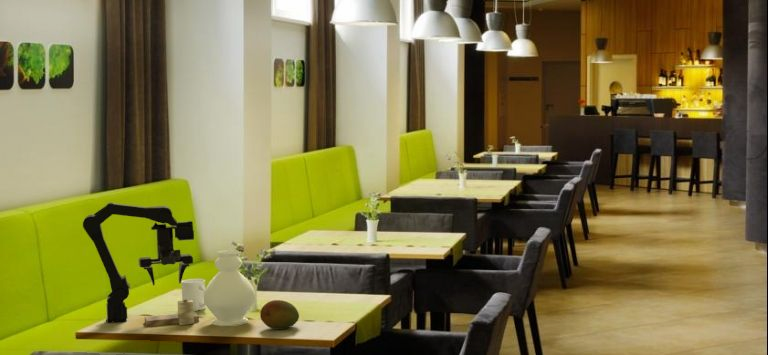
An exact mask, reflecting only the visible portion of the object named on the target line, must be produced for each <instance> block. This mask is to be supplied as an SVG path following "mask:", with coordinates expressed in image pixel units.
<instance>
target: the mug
mask: <svg viewBox="0 0 768 355" xmlns="http://www.w3.org/2000/svg"><path fill="white" fill-rule="evenodd" d="M205 289H206V280H205V279H204V278H188V279H184V280H181V301H183V300H185V299H187V301H188V300H192V301H193V305H194V312H198V310H200V311H203V310H205V309H206V308H207V306H206V305H205V303H204V292H205Z"/></svg>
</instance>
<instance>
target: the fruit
mask: <svg viewBox="0 0 768 355" xmlns="http://www.w3.org/2000/svg"><path fill="white" fill-rule="evenodd" d="M299 313H300V312H299V311H298V309H297V307H295V305H294V304H292V303H290V302H288V301H284V300H281V299H279V300H278V299H275V300H270V301H268V302H267V303H265V304H264V305H263V306H262V307H261V309H260V313H259V314H260V319H261V321H262V322H263V324H264V325H265V326H267V327H269V328H271V329H275V330H285V329H288V328H291V327H293V326H295V324H296V323H297V322H298V320H299V318H300V314H299Z"/></svg>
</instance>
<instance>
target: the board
mask: <svg viewBox="0 0 768 355" xmlns="http://www.w3.org/2000/svg"><path fill="white" fill-rule="evenodd" d="M199 322H200V315H198V314H197V311H194V323H199ZM166 324H170V325H179V324H178V313H175V314H163V315H152V316H144V325H146V327H148V326H149V327H156V326H157V327H159V326H167V325H166ZM149 327H148V328H149Z"/></svg>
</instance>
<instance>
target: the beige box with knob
mask: <svg viewBox="0 0 768 355" xmlns="http://www.w3.org/2000/svg"><path fill="white" fill-rule="evenodd" d="M194 313H195V311H194V305H193V301H192V300H188V301H187V299H185V300H183V301H182V300H179V301H177V314H178V323H179V324H178V325H179V326H183V325H184V326H186V325H193V324H195V322H194Z"/></svg>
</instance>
